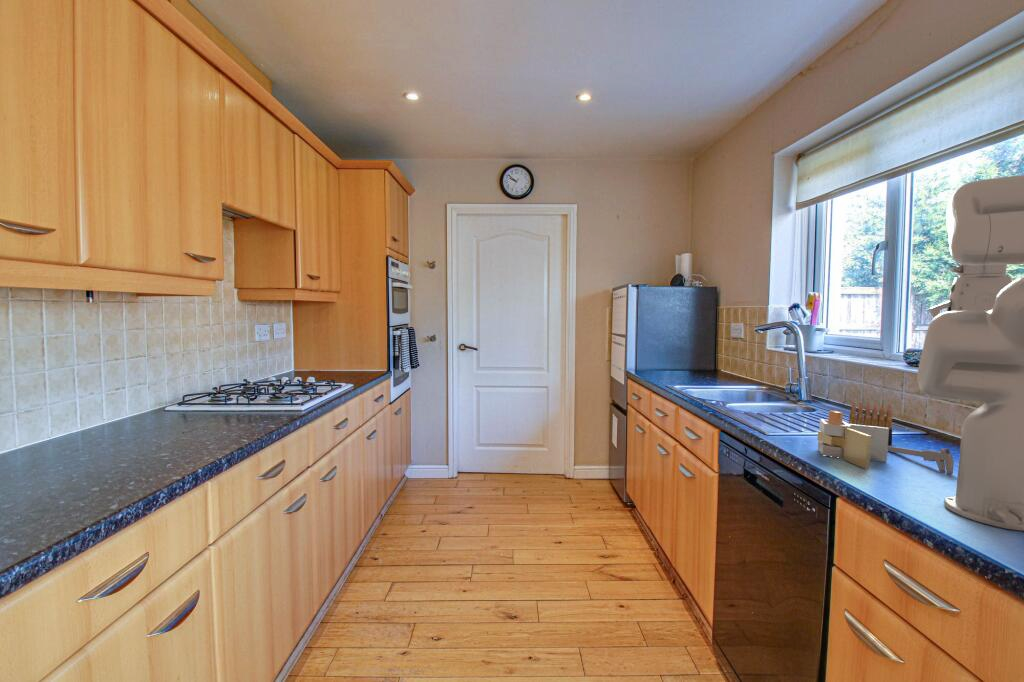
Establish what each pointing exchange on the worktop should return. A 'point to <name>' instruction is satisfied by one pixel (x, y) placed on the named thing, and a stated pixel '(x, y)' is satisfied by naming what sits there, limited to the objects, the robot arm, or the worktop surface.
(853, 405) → the ammunition clip
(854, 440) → the hinge leaf
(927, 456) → the caliper
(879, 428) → the hinge fixed
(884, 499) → the worktop surface
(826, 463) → the worktop surface
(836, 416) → the pin
